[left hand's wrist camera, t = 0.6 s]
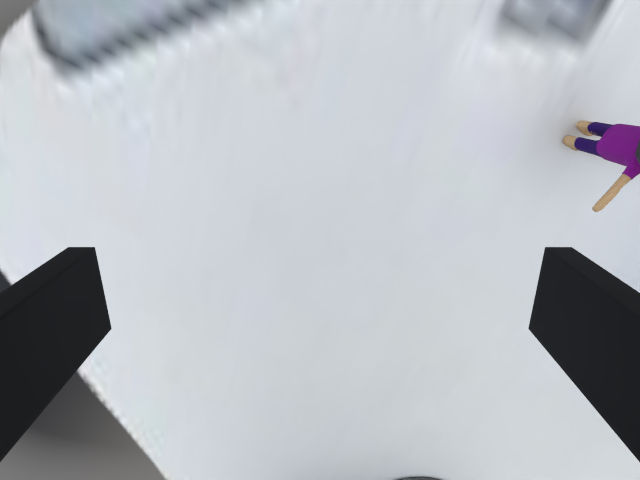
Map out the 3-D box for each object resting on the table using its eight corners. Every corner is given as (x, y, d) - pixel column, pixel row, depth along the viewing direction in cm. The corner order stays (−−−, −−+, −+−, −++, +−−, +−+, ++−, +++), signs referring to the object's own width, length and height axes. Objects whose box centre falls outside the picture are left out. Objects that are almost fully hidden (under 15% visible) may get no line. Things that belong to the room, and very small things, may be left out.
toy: (546, 191, 40) (670, 254, 26) (503, 158, 38) (607, 204, 24) (633, 94, 37) (828, 105, 23) (589, 55, 35) (765, 41, 21)
